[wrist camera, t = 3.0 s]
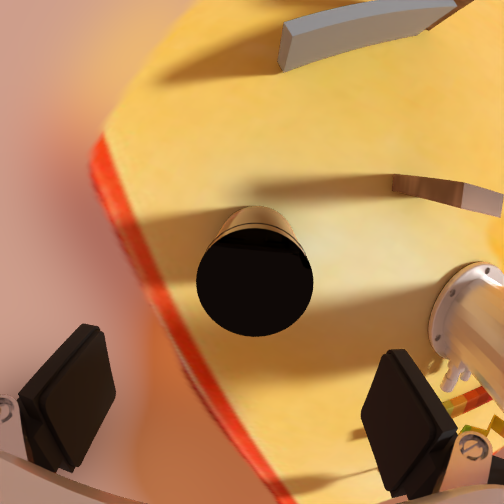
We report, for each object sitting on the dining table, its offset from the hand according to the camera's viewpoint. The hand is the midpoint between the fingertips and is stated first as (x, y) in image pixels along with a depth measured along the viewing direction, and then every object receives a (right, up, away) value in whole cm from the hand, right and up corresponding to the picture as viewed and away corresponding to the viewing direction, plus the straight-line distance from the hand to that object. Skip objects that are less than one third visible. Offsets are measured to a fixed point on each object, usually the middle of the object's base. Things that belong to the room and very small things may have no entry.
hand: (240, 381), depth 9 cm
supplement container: (+1, +5, +18) cm, 19 cm away
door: (+9, +23, +12) cm, 28 cm away
